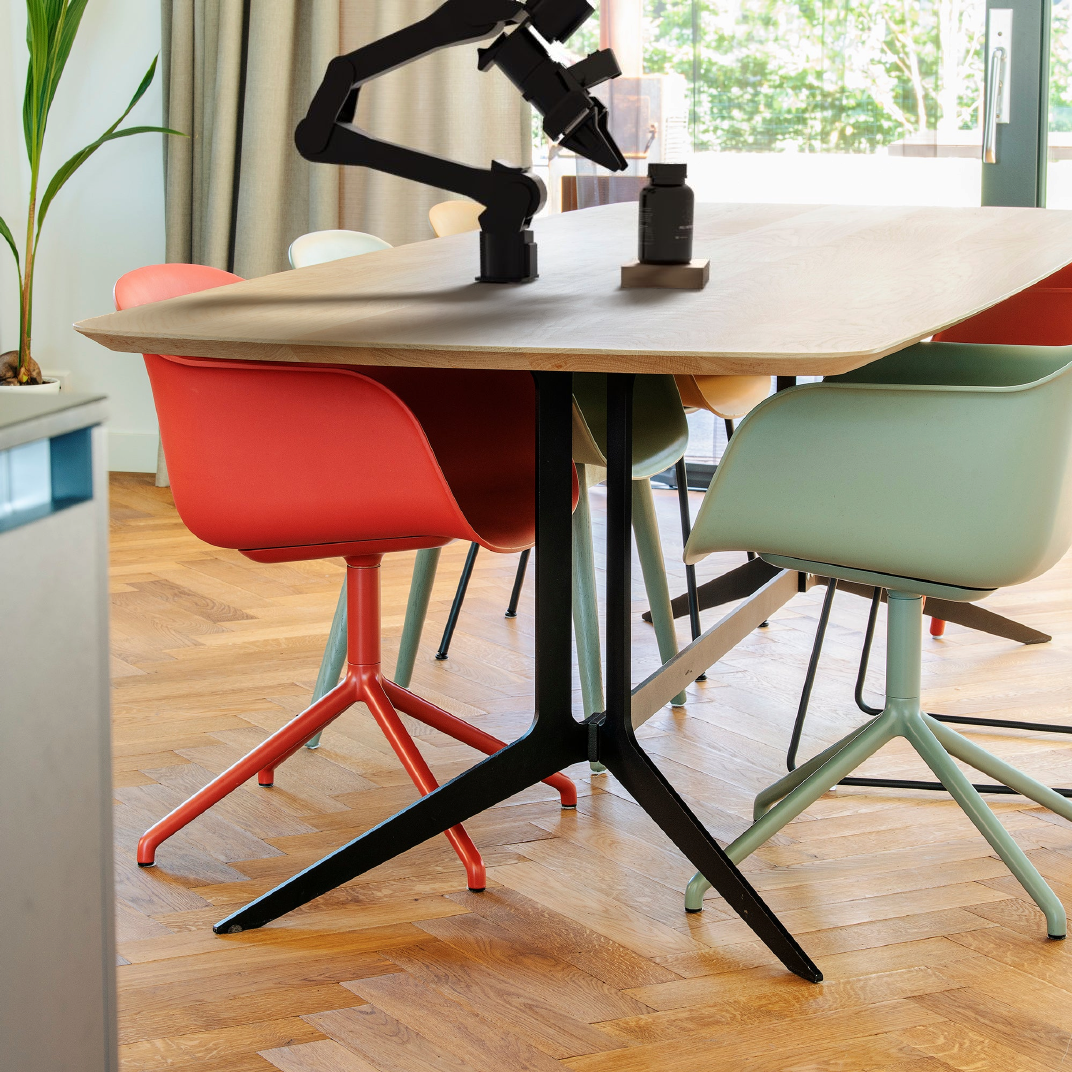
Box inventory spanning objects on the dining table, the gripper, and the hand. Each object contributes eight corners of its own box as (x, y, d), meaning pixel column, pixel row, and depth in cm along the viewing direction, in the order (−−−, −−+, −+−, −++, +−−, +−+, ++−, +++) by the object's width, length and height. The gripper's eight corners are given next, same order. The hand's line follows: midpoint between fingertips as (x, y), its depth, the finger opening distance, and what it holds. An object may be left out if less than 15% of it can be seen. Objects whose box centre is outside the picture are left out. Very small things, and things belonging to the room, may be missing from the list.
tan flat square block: (620, 287, 159) (621, 266, 159) (631, 277, 169) (631, 258, 168) (702, 288, 157) (703, 267, 157) (709, 279, 167) (709, 259, 166)
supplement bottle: (693, 265, 159) (696, 163, 155) (637, 265, 159) (638, 163, 156) (691, 259, 165) (694, 161, 162) (637, 259, 166) (638, 162, 162)
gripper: (572, 15, 147) (665, 119, 149) (592, 30, 165) (675, 123, 166) (503, 88, 151) (595, 188, 152) (530, 95, 168) (612, 185, 170)
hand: (622, 169), depth 160 cm, fingers open, 9 cm apart
